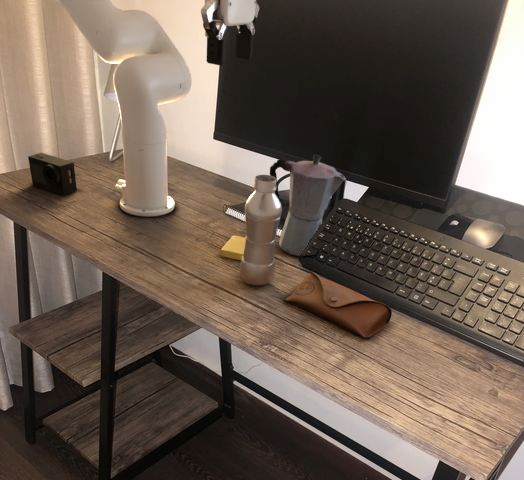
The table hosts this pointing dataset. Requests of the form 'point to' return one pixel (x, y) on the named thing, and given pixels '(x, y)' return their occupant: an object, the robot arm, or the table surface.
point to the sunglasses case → (341, 305)
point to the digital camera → (52, 173)
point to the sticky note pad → (234, 248)
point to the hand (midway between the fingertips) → (229, 61)
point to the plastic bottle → (261, 232)
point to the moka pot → (305, 200)
